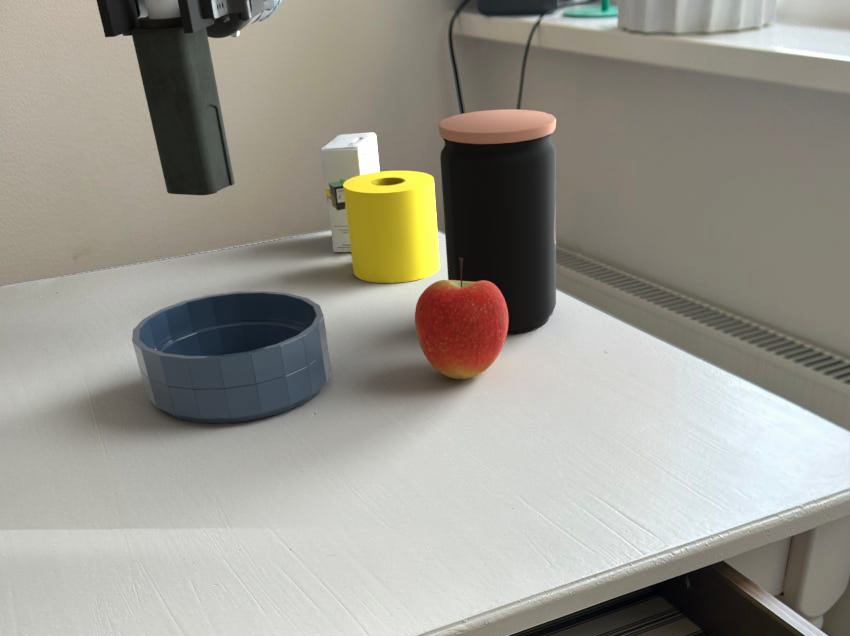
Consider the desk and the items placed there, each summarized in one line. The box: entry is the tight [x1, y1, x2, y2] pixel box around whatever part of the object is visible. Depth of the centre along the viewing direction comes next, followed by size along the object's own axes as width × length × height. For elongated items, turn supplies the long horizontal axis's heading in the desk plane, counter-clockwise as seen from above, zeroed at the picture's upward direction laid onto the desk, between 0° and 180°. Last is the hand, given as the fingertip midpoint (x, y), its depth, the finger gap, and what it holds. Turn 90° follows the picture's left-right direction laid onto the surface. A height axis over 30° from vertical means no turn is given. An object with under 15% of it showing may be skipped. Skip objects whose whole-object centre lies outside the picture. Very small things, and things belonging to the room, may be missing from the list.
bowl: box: [131, 290, 333, 424], centre depth 86 cm, size 16×16×6 cm
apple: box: [414, 257, 508, 380], centre depth 85 cm, size 8×8×10 cm
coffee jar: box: [437, 108, 557, 335], centre depth 94 cm, size 11×11×18 cm
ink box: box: [320, 131, 381, 253], centre depth 119 cm, size 8×5×12 cm, turn 171°
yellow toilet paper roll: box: [343, 170, 441, 284], centre depth 110 cm, size 10×10×9 cm
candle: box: [131, 0, 236, 196], centre depth 83 cm, size 5×5×25 cm
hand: (145, 15), depth 78 cm, fingers closed on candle, 6 cm apart
